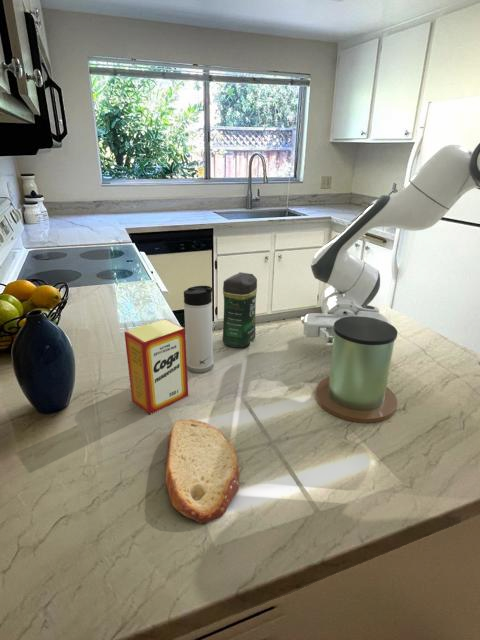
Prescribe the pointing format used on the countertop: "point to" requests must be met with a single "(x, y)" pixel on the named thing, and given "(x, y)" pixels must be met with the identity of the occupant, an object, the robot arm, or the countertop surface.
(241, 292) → the coffee jar
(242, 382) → the countertop surface
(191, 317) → the travel mug
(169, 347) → the baking soda box
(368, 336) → the lidded mug on coaster
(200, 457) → the slice of bread
